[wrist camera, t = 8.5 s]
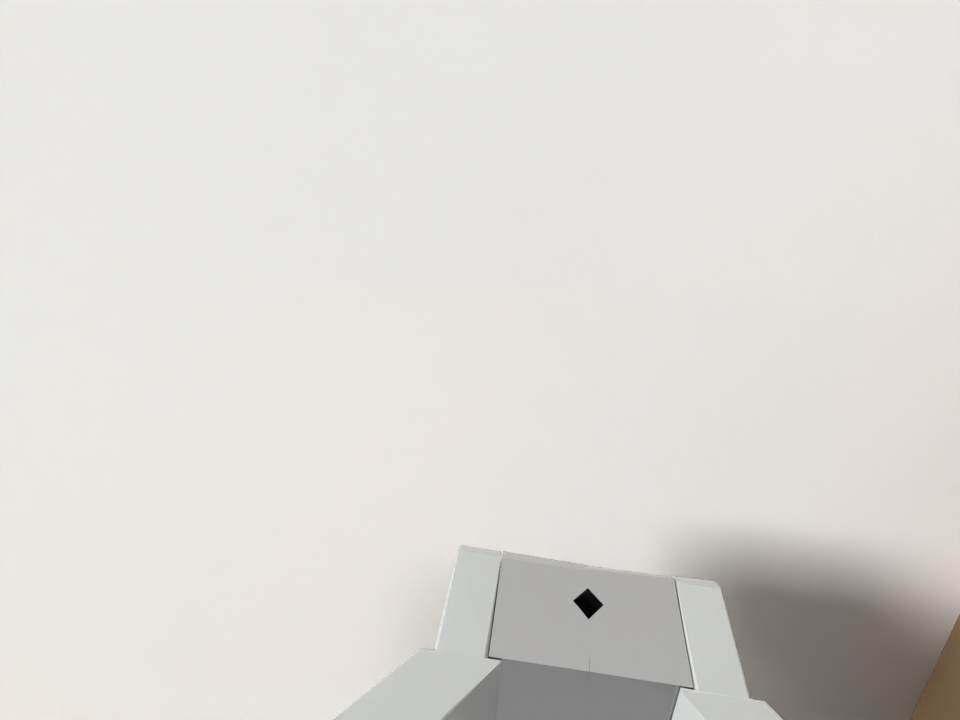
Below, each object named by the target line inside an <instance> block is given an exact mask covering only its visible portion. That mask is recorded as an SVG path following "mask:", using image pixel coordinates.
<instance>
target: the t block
mask: <svg viewBox="0 0 960 720" xmlns="http://www.w3.org/2000/svg"><path fill="white" fill-rule="evenodd" d="M910 720H960V615H959V617H958V619H957V621H956V623H955V625H954V627H953V630H952V632H951V634H950V636H949V638H948V640H947V642H946V644H945V646H944V649H943V651H942V653H941V655H940V657H939V659H938V661H937V663H936V665H935V668H934V670H933V672H932V674H931V676H930V678H929V680H928V682H927V684H926V687H925V689H924V691H923V693H922V695H921V697H920V699H919V701H918V703H917V705H916V708H915V710H914V712H913V714H912V716H911V718H910Z"/></svg>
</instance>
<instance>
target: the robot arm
mask: <svg viewBox="0 0 960 720" xmlns="http://www.w3.org/2000/svg"><path fill="white" fill-rule="evenodd" d="M501 556H502V562H501ZM500 567H501V569H500ZM334 720H783V719H782V718H781V717H780V716H779V715H778V714H777V713H776V712H775V711H774V710H773V709H772V708H771V707H770V706H769V705H768V704H767V703H766V702H765V701H760V700H754V699H751V697H750V694H749V690H748V686H747V683H746V679H745V675H744V671H743V668H742V664H741V660H740V656H739V653H738V649H737V645H736V642H735V638H734V634H733V630H732V627H731V623H730V619H729V616H728V612H727V608H726V604H725V601H724V597H723V593H722V590H721V587H720V586H719V585H718V584H717V582H716V581H710V580H701V579H693V578H685V577H676V576H671V577H668V576H660V575H653V574H646V573H639V572H631V571H624V570H617V569H609V568H602V567H595V566H587V565H583V564H577V563H571V562H564V561H558V560H552V559H546V558H540V557H534V556H528V555H522V554H516V553H510V552H504V551H503V555H502V553H501V552H500V551H494V550H488V549H482V548H476V547H469V546H463V545H460V547H459V549H458V551H457V553H456V556H455V560H454V565H453V569H452V573H451V578H450V582H449V586H448V591H447V595H446V599H445V604H444V608H443V612H442V617H441V621H440V625H439V630H438V634H437V638H436V643H435V647H434V650H430V649H423V648H420V649H419V650H418V651H417V652H415V653H414V654H413V655H412V656H410V657H409V658H408V659H407V660H406V661H404V662H403V663H402V664H401V665H399V666H398V667H397V668H396V669H395V670H393V671H392V672H391V673H390V674H388V675H387V676H386V677H385V678H384V679H382V680H381V681H380V682H379V683H378V684H376V685H375V686H374V687H373V688H371V689H370V690H369V691H368V692H367V693H365V694H364V695H363V696H362V697H360V698H359V699H358V700H357V701H356V702H354V703H353V704H352V705H351V706H349V707H348V708H347V709H346V710H345V711H343V712H342V713H341V714H340V715H338V716H337V717H336V718H335V719H334Z"/></svg>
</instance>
